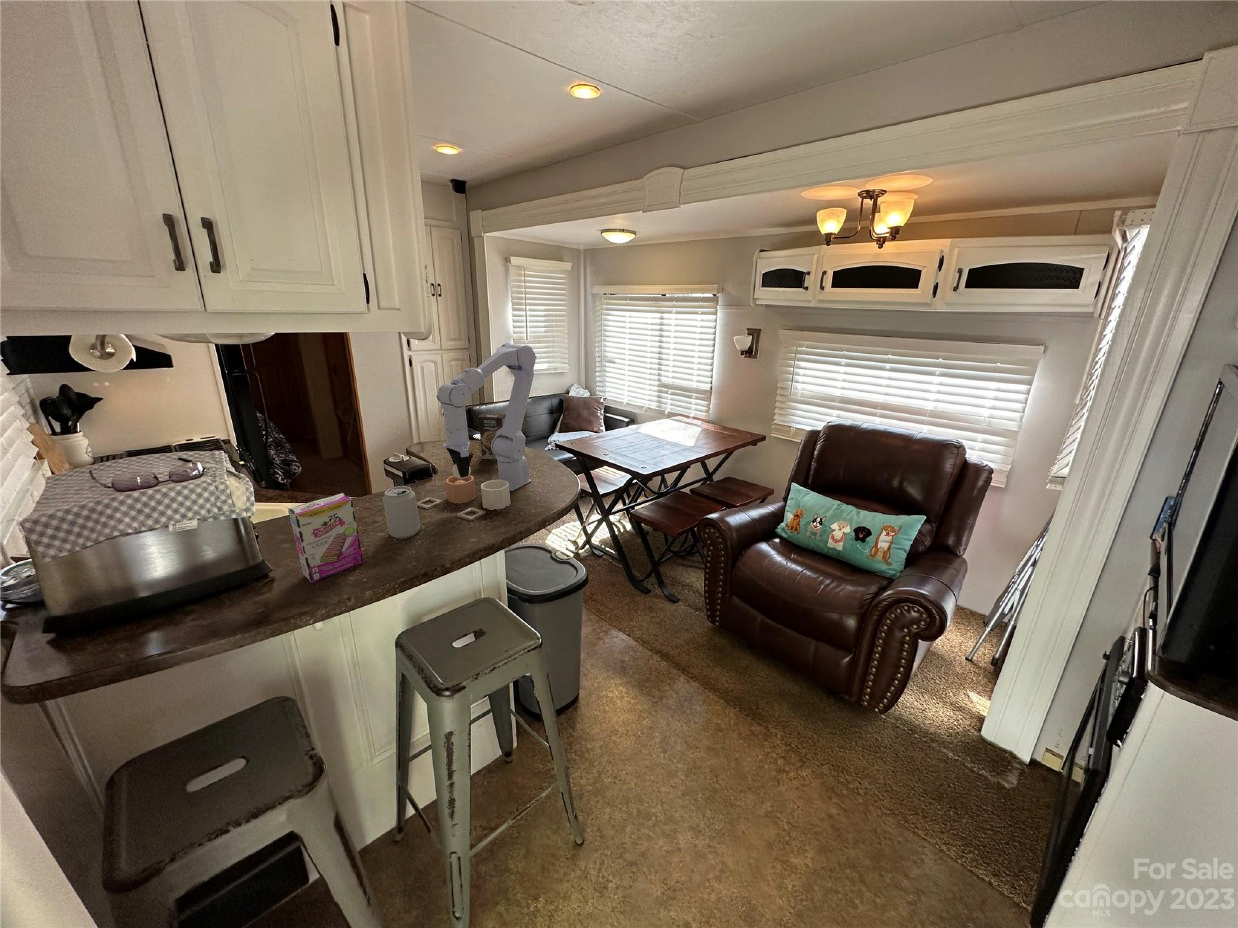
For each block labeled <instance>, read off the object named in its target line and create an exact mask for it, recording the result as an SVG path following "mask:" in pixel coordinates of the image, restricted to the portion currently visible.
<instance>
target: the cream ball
mask: <svg viewBox="0 0 1238 928" xmlns="http://www.w3.org/2000/svg"><path fill="white" fill-rule="evenodd" d="M451 471H452V474H453V475H452V476H455V477H456V478H458V479H465V478H467V477H468V476H469V475H471V472H472V470H471V466H470V467H469V475H468V476H467V477H462V478H461V477H460V475H459V472H458V468H457V465H456V464H455V465H454V464H453V466H452V469H451Z"/></svg>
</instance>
